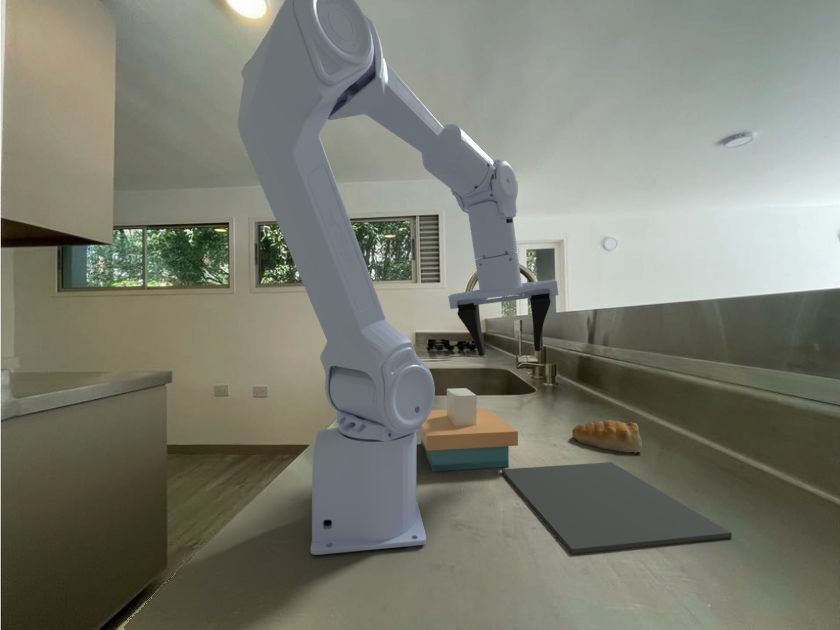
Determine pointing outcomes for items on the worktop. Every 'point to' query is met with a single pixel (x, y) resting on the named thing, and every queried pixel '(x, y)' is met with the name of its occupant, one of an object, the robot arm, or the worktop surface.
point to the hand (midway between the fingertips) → (509, 351)
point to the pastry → (610, 435)
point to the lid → (465, 425)
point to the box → (467, 458)
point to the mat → (608, 508)
